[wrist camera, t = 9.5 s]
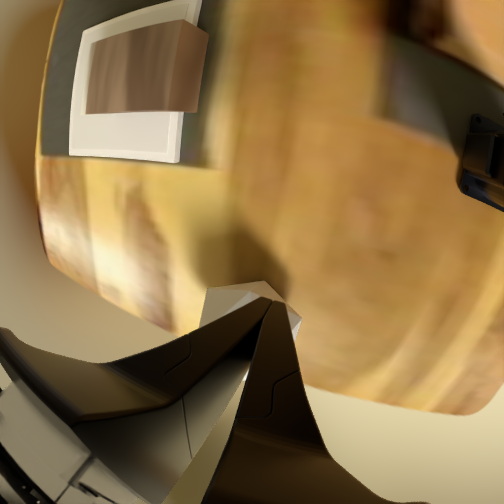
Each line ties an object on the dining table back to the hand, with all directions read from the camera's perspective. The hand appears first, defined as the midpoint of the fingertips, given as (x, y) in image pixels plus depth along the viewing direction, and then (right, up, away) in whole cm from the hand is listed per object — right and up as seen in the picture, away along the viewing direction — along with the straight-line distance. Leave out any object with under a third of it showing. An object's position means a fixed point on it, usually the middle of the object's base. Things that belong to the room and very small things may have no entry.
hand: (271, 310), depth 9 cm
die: (0, -3, +17) cm, 17 cm away
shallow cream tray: (-13, +19, +11) cm, 26 cm away
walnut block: (-5, +15, +7) cm, 17 cm away
